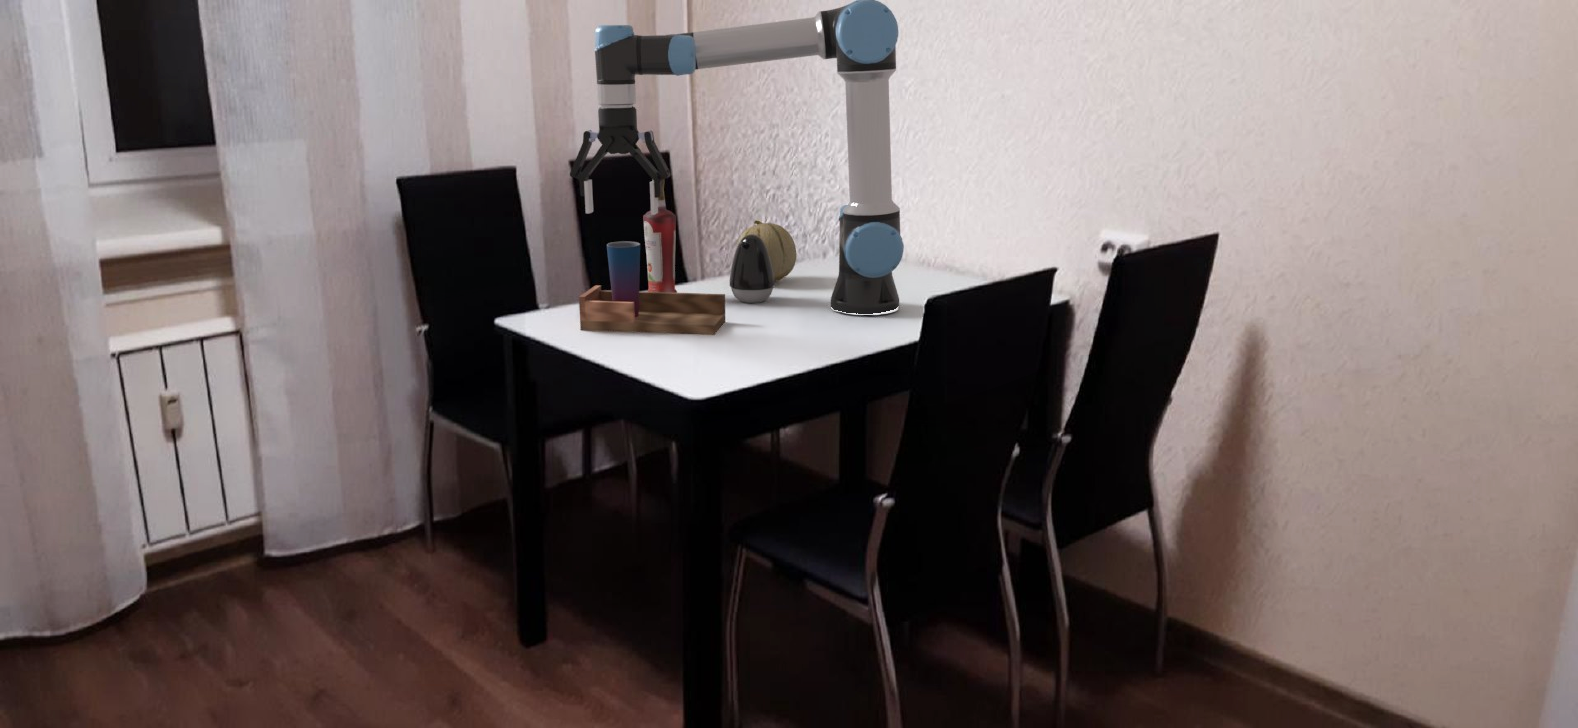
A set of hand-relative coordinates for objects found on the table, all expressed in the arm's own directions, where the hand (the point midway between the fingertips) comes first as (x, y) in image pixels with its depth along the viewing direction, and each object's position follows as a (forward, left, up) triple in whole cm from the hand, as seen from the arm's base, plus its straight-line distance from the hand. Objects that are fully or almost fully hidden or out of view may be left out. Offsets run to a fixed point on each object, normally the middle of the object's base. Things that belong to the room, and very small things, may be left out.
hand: (621, 213), depth 234 cm
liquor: (-1, -26, -24) cm, 35 cm away
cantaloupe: (-22, -46, -24) cm, 56 cm away
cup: (0, 0, -22) cm, 22 cm away
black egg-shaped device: (-22, -26, -24) cm, 41 cm away
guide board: (-6, 0, -23) cm, 24 cm away
